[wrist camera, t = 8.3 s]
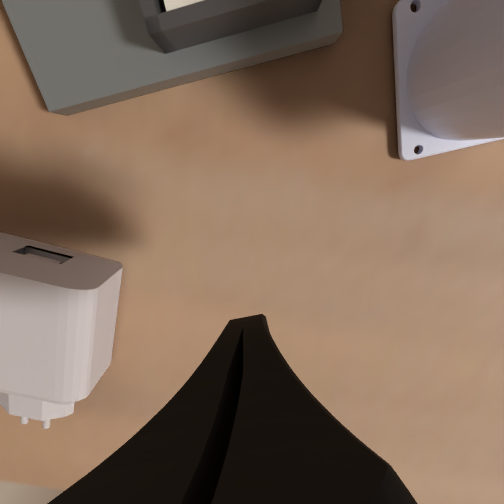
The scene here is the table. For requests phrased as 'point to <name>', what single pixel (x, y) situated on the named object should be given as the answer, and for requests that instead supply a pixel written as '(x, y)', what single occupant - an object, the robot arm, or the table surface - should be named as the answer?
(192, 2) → the on button
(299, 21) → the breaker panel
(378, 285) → the table surface
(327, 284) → the table surface
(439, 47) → the robot arm
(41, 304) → the charger
